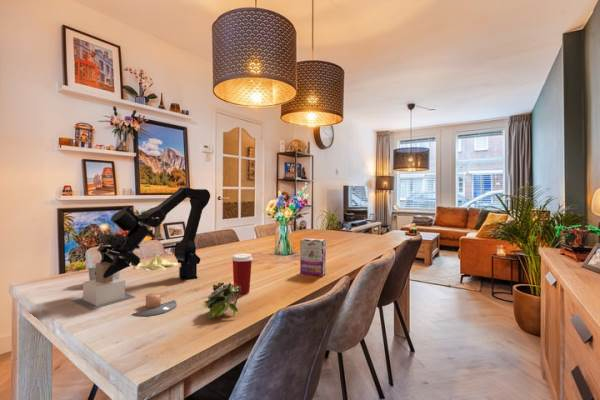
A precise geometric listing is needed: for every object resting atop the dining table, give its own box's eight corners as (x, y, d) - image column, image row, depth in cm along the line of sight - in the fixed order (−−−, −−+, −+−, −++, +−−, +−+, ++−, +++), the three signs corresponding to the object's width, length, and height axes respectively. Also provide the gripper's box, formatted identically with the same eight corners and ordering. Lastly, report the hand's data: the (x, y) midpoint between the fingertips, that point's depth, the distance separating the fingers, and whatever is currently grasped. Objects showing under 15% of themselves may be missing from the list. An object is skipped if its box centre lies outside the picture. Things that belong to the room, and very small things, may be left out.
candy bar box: (325, 274, 141) (326, 239, 141) (322, 276, 137) (323, 240, 136) (303, 271, 145) (304, 237, 145) (299, 273, 141) (300, 238, 140)
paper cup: (255, 290, 116) (256, 254, 115) (245, 297, 109) (246, 258, 108) (237, 288, 118) (238, 252, 118) (226, 294, 111) (227, 256, 111)
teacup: (104, 288, 115) (104, 267, 114) (80, 286, 117) (80, 265, 117) (132, 278, 128) (132, 259, 128) (110, 276, 130) (110, 258, 130)
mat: (115, 291, 112) (115, 289, 112) (136, 298, 105) (136, 297, 105) (70, 302, 100) (70, 300, 100) (91, 311, 93) (91, 309, 93)
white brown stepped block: (111, 292, 109) (111, 259, 109) (124, 297, 104) (125, 263, 104) (83, 299, 101) (83, 264, 101) (96, 305, 96) (96, 268, 96)
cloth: (126, 268, 147) (126, 255, 147) (161, 261, 163) (161, 249, 163) (153, 275, 135) (153, 261, 135) (188, 267, 151) (188, 254, 151)
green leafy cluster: (217, 326, 97) (227, 289, 104) (244, 327, 92) (253, 288, 99) (192, 316, 89) (205, 277, 96) (221, 317, 84) (232, 275, 91)
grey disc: (173, 297, 107) (173, 286, 107) (179, 311, 95) (179, 298, 95) (128, 303, 100) (128, 292, 100) (128, 319, 88) (128, 306, 88)
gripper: (103, 223, 110) (67, 258, 101) (131, 227, 100) (94, 266, 91) (125, 241, 117) (93, 276, 108) (153, 247, 107) (121, 285, 98)
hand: (99, 276), depth 101 cm, fingers closed on white brown stepped block, 5 cm apart
